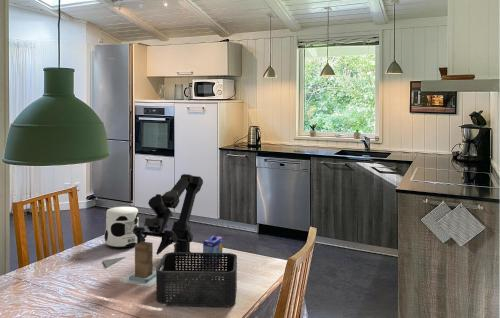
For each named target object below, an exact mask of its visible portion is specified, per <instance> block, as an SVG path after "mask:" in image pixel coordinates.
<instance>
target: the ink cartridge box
mask: <svg viewBox="0 0 500 318" xmlns="http://www.w3.org/2000/svg"><path fill="white" fill-rule="evenodd" d="M202 242H203V243H202V253H223V248H224V247H223V244H224V237H223V236H219V233H216V234H214V235H211V236H210V237H209V238H207V239H205V240H203V241H202ZM202 258H204V257H202ZM206 258H207V257H206ZM209 258H210V257H209ZM212 258H214V257H212ZM215 258H217V257H215ZM219 258H220V257H219ZM202 260H204V259H202ZM206 260H207V259H206ZM202 263H204V262H202ZM206 263H207V262H206ZM209 263H210V262H209ZM212 263H214V262H212ZM215 263H217V262H215ZM219 263H220V262H219ZM202 265H204V264H202ZM209 265H210V264H209ZM212 265H213V264H212ZM209 268H210V267H209ZM212 268H214V267H212Z"/></svg>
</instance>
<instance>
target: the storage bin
mask: <svg viewBox="0 0 500 318" xmlns="http://www.w3.org/2000/svg"><path fill="white" fill-rule="evenodd" d="M190 252H191V251H190ZM190 252H174V251H172V252H167V253H164V254H163V256H162V258H161V259H160V261H159V263H158V265H157V266H156V268H155V271H156V283H155V285H156V287H155V288H156V291H155V293H156V302H157V303H158V304H160V305H161V304H164V306H165V307H196V308H197V307H200V308H204V307H205V308H208V307H209V308H213V307H214V308H224V307H225V308H226V307H227V308H228V306H229V307H232V306H234V305H236V300H237V286H238V285H237V284H238V283H237V280H238V279H237V278H238V276H237V275H238V273H237V271H238V255H237V254H235V253H231V252H222V253H203V252H191V253H190ZM182 254H183V255H182ZM203 257H204V258H203ZM206 257H207V258H206ZM209 257H210V258H209ZM212 257H214V258H212ZM215 257H217V258H215ZM219 257H220V258H219ZM203 259H204V260H203ZM206 259H207V260H206ZM203 262H204V263H203ZM206 262H207V263H206ZM209 262H210V263H209ZM212 262H214V263H212ZM215 262H217V263H215ZM219 262H220V263H219ZM202 264H204V265H202ZM209 264H210V265H209ZM212 264H213V265H212ZM209 267H210V268H209ZM212 267H214V268H212Z"/></svg>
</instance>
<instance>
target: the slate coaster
mask: <svg viewBox="0 0 500 318" xmlns="http://www.w3.org/2000/svg"><path fill="white" fill-rule="evenodd" d="M125 258H126V256H121V257H115V258H107V259H103V260H102V264H104V267H105V268H106V269H108V268H109V267H111V266H113V265H115V264H116V263H118V262H120V261H121V260H124V259H125Z"/></svg>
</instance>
